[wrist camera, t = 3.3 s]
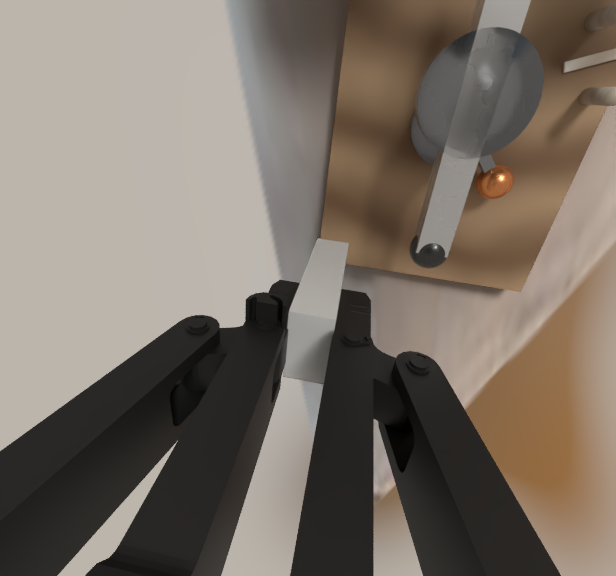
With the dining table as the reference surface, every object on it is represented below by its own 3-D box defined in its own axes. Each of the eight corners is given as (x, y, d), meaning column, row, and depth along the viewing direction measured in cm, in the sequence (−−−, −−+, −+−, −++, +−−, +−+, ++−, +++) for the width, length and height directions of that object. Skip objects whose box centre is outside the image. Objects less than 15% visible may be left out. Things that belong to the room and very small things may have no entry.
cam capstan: (454, -121, 19) (491, -222, 13) (615, -112, 19) (737, -216, 12) (379, 231, 30) (381, 267, 23) (481, 246, 29) (511, 288, 23)
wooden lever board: (358, -55, 23) (355, -90, 19) (653, -34, 21) (723, -66, 17) (320, 251, 34) (312, 273, 30) (512, 281, 32) (534, 310, 28)
